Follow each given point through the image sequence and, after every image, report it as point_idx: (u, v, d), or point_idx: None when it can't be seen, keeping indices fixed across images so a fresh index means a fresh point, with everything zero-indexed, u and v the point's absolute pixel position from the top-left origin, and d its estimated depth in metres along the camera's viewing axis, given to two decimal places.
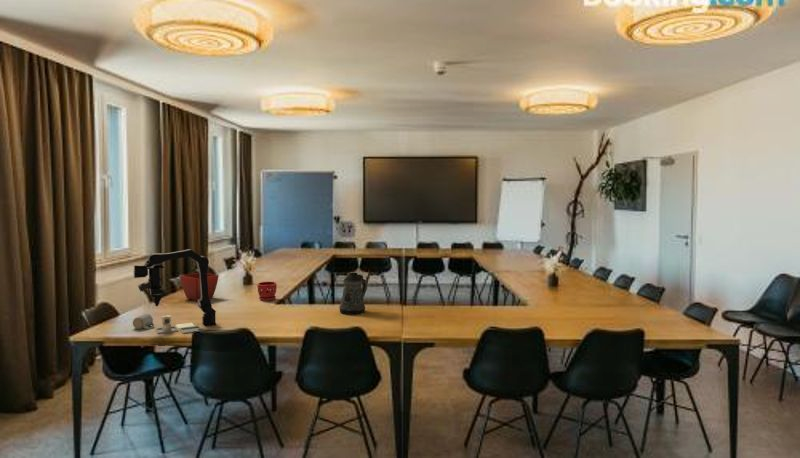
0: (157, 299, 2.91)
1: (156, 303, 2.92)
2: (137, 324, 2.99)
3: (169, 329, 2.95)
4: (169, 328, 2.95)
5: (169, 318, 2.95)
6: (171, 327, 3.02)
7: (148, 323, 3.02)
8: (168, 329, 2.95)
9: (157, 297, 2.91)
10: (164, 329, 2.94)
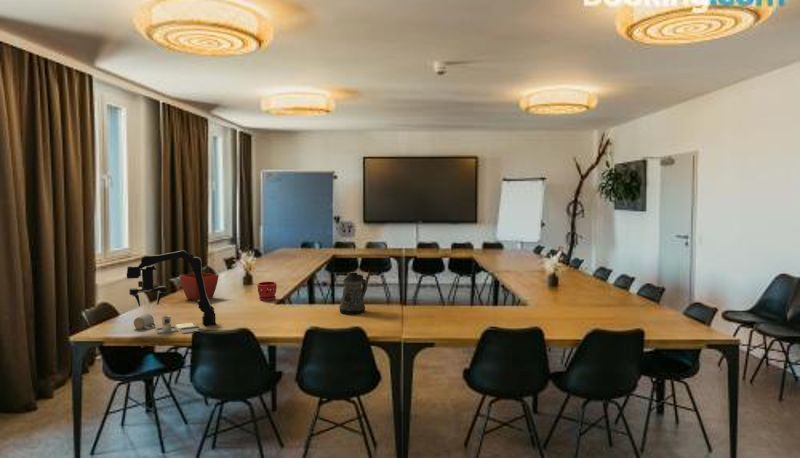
0: (137, 299, 2.98)
1: (138, 303, 2.98)
2: (138, 324, 2.99)
3: (169, 329, 2.95)
4: (169, 328, 2.95)
5: (169, 318, 2.95)
6: (171, 327, 3.02)
7: (149, 323, 3.02)
8: (168, 329, 2.95)
9: None
10: (164, 329, 2.94)
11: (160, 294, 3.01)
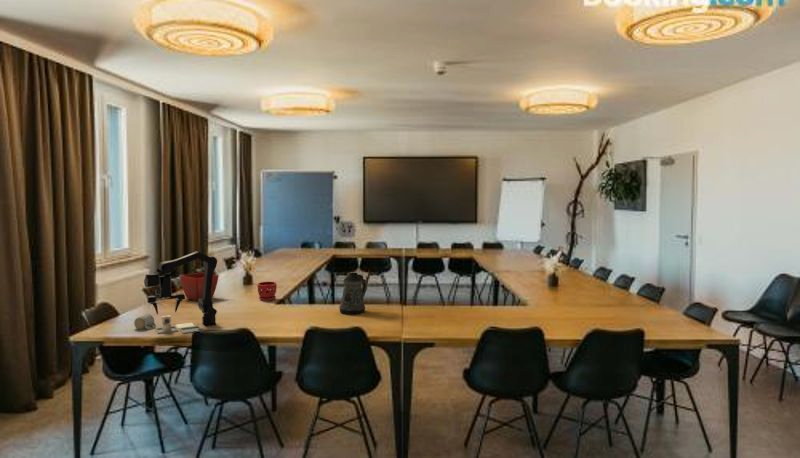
0: (154, 307, 2.92)
1: None
2: (138, 324, 2.99)
3: (169, 329, 2.95)
4: (169, 328, 2.95)
5: (169, 318, 2.95)
6: (171, 327, 3.02)
7: (149, 323, 3.02)
8: (168, 329, 2.95)
9: None
10: (164, 329, 2.94)
11: (178, 301, 2.96)
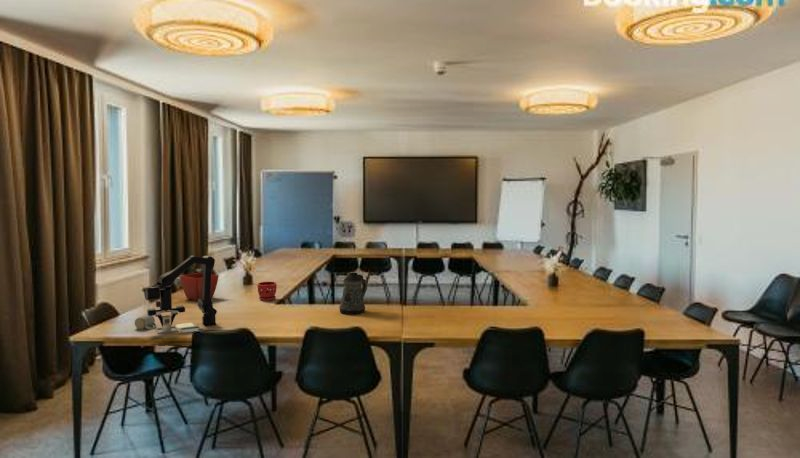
0: (159, 319, 2.94)
1: None
2: (139, 324, 2.99)
3: (169, 329, 2.95)
4: (169, 328, 2.95)
5: (169, 318, 2.95)
6: (171, 327, 3.02)
7: (150, 323, 3.02)
8: (168, 329, 2.95)
9: None
10: (164, 329, 2.94)
11: (174, 315, 2.95)
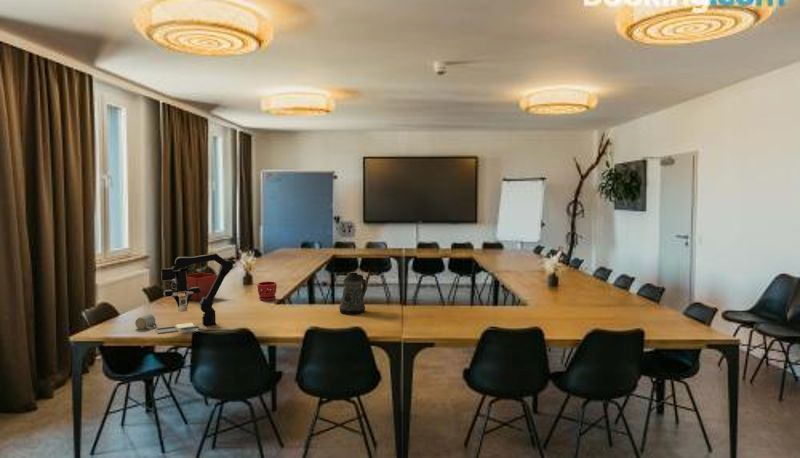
0: (176, 300, 3.03)
1: (177, 304, 3.04)
2: (139, 324, 2.99)
3: (185, 309, 3.04)
4: (185, 308, 3.04)
5: (185, 299, 3.04)
6: (171, 327, 3.02)
7: (151, 323, 3.02)
8: (184, 309, 3.04)
9: (176, 298, 3.03)
10: (180, 309, 3.03)
11: (189, 295, 3.04)
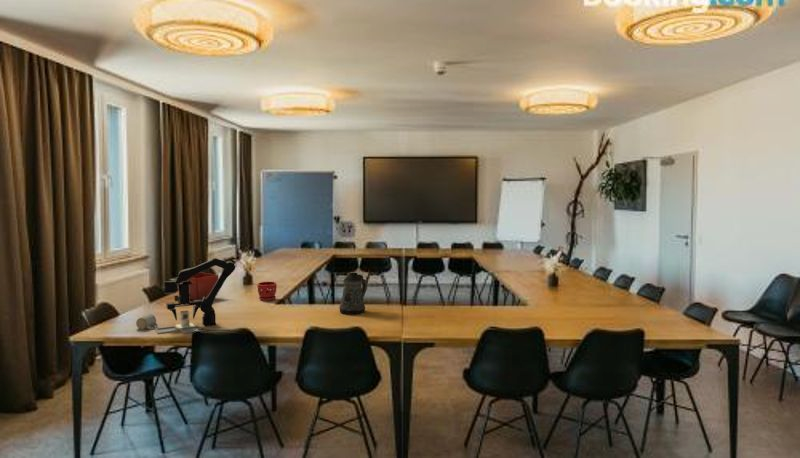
0: None
1: None
2: (140, 324, 2.98)
3: (187, 324, 3.06)
4: (187, 323, 3.06)
5: (187, 313, 3.06)
6: (171, 327, 3.02)
7: (151, 323, 3.02)
8: (186, 324, 3.06)
9: None
10: (182, 324, 3.05)
11: (196, 308, 3.07)
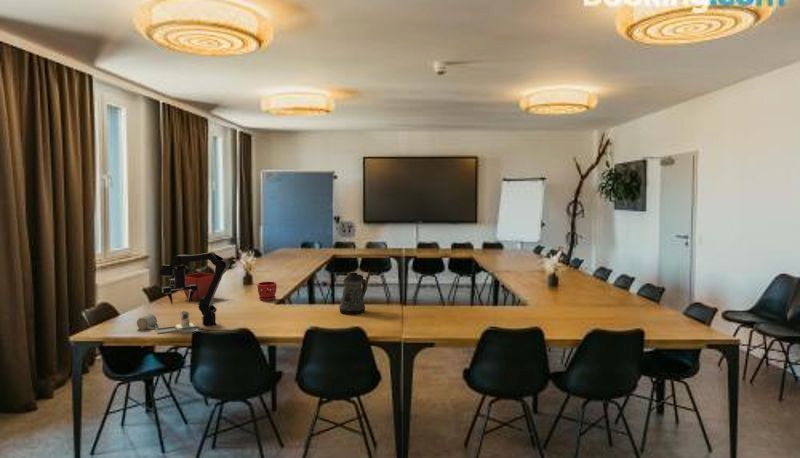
0: (169, 297, 3.08)
1: (170, 301, 3.09)
2: (141, 324, 2.98)
3: (187, 324, 3.06)
4: (187, 323, 3.06)
5: (187, 313, 3.06)
6: (171, 327, 3.02)
7: (152, 323, 3.01)
8: (186, 324, 3.06)
9: None
10: (182, 324, 3.05)
11: (191, 292, 3.12)
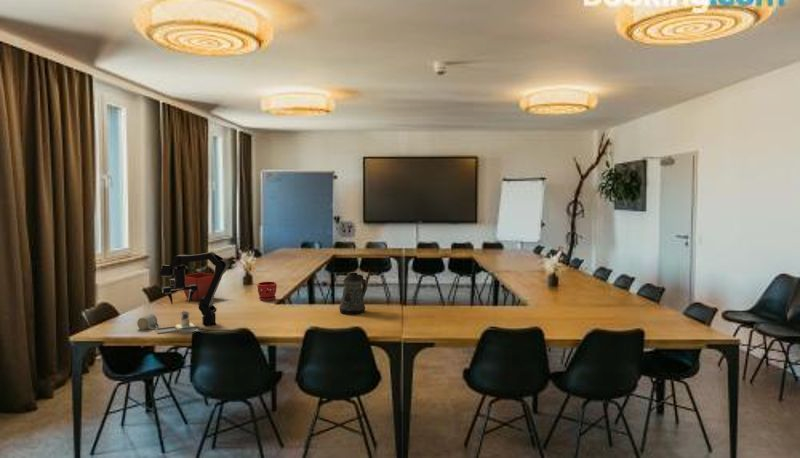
0: (169, 298, 3.08)
1: None
2: (141, 324, 2.98)
3: (187, 324, 3.06)
4: (187, 323, 3.06)
5: (187, 313, 3.06)
6: (171, 327, 3.02)
7: (152, 323, 3.01)
8: (186, 324, 3.06)
9: None
10: (182, 324, 3.05)
11: (191, 292, 3.12)
